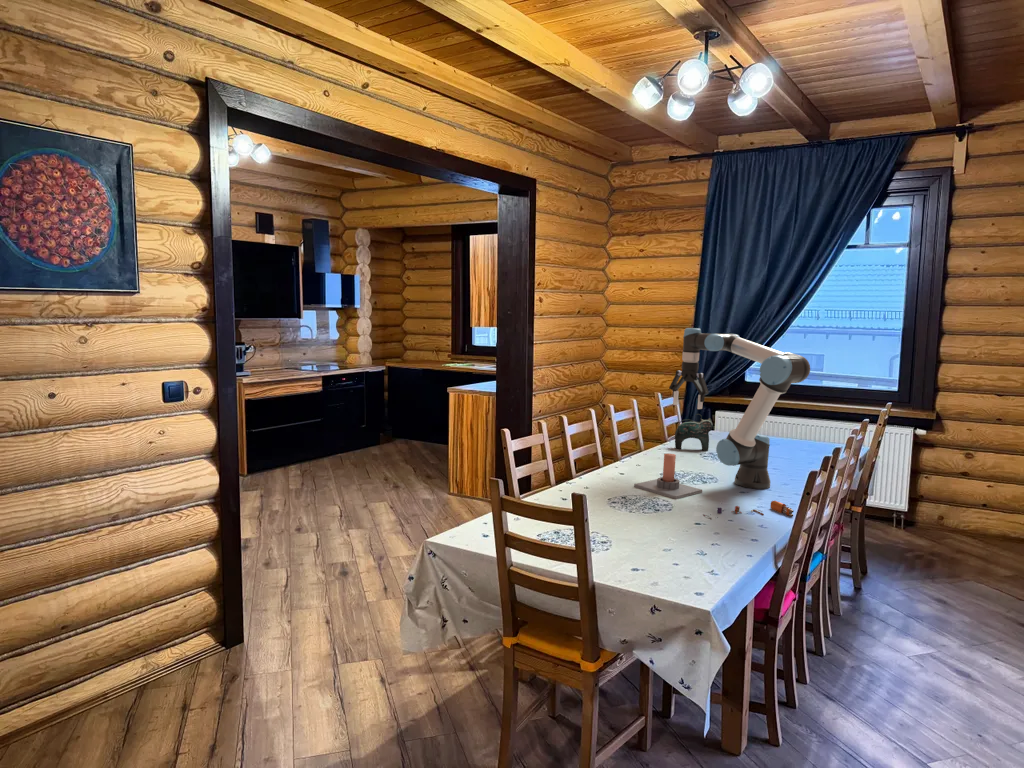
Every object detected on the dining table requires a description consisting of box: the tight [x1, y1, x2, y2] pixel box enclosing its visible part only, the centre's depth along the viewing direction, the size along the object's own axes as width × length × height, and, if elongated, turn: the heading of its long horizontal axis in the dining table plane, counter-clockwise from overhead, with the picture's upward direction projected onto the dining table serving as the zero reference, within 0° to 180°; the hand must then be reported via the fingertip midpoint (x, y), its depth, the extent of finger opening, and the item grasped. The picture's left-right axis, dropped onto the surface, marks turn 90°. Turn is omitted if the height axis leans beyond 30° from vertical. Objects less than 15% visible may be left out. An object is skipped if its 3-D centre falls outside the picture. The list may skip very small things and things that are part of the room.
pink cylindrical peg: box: [662, 453, 677, 482], centre depth 288 cm, size 5×5×14 cm
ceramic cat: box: [674, 413, 713, 452], centre depth 372 cm, size 20×6×20 cm, turn 80°
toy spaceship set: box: [702, 500, 795, 520], centre depth 256 cm, size 11×35×4 cm, turn 110°
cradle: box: [633, 476, 703, 500], centre depth 288 cm, size 22×18×4 cm
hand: (687, 406), depth 315 cm, fingers open, 13 cm apart
